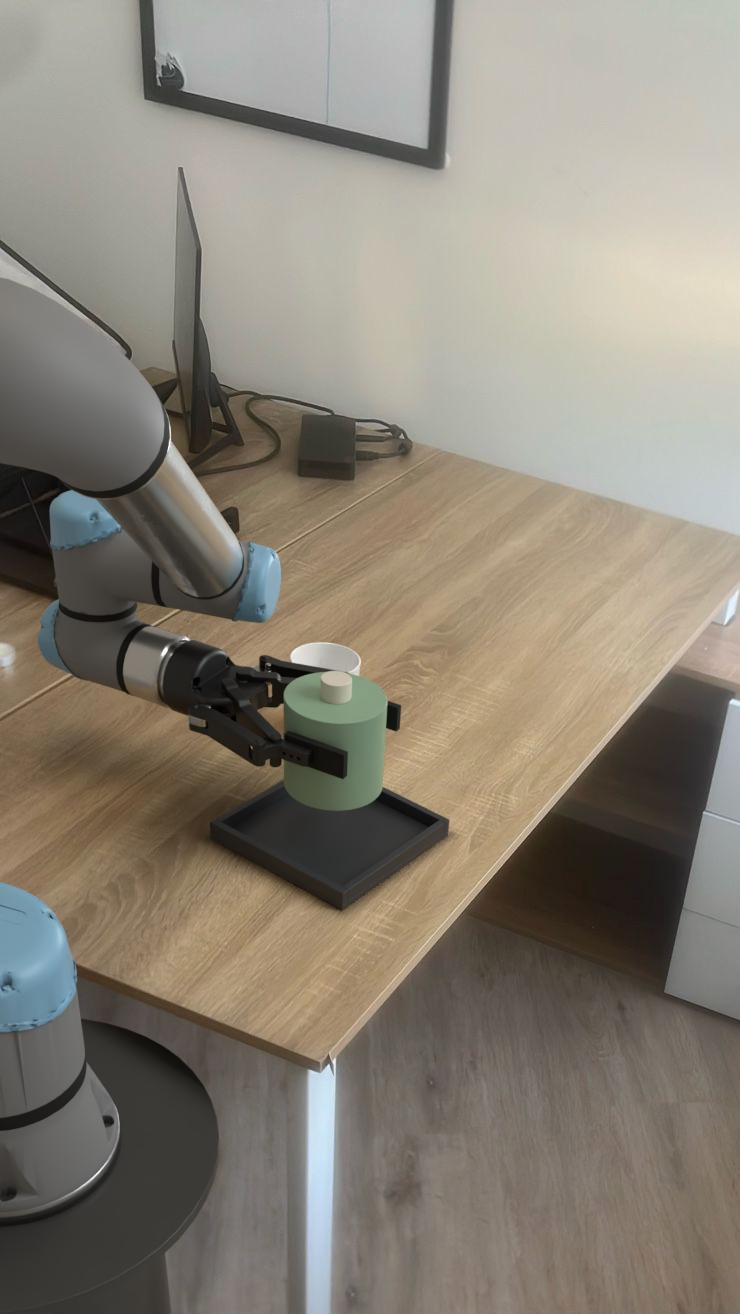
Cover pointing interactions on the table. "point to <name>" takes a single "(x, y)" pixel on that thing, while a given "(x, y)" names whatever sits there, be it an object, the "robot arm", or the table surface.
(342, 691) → the cover
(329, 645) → the white cup
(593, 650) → the table surface
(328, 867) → the tray
